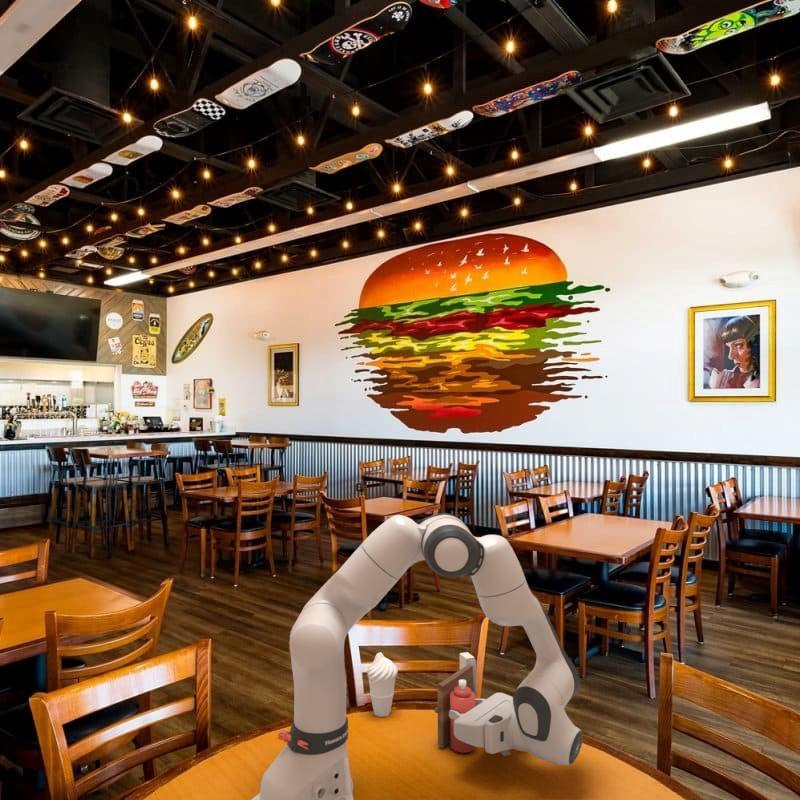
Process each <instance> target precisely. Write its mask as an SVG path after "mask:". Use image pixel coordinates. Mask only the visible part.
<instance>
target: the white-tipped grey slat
mask: <svg viewBox="0 0 800 800" xmlns="http://www.w3.org/2000/svg"><path fill="white" fill-rule="evenodd" d="M467 665H472V666H473V692H474V694H475V699H477V659H475V656H473V655H472V654H471V653H469V652H468V651H466V652H460V653H459V670H460V669H462V668H463V667H465V666H467ZM498 753H499V754H500V755H502V757H508V756H512V754H511V752H510V750H504V751H500V752H498Z"/></svg>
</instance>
